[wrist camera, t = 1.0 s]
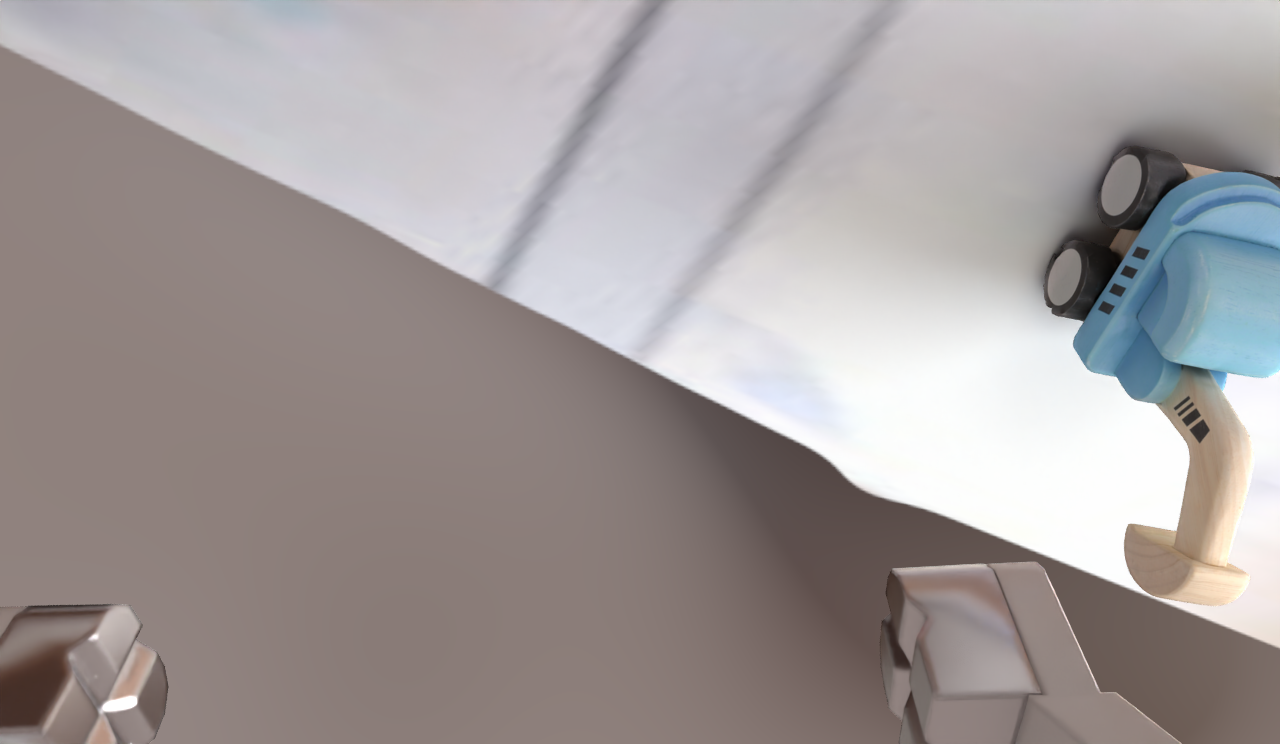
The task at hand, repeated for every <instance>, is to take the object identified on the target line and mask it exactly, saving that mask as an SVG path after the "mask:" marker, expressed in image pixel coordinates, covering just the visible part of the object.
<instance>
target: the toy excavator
mask: <svg viewBox="0 0 1280 744" xmlns="http://www.w3.org/2000/svg"><path fill="white" fill-rule="evenodd" d="M1097 208H1098V214H1099V216H1100V218H1101V220H1102V222H1103V223H1105V224H1106V225H1107V226H1108V227H1110V228H1115V229H1120V231H1119V232H1118V234H1117V235H1116V237H1115V238H1114V240H1113V242H1112V243H1111V245H1110V247H1107V246H1102V245H1098V244H1095V243H1089V242H1085V241H1080V240H1073V241H1070V242H1068V243H1066V244H1064V245H1063V246H1062V248H1064V251H1063V252H1062V253H1061V254H1060V256H1059V257H1057V259H1056V254H1054V256H1053V257H1052V259H1051V261H1050V264H1049V266H1048V270H1047V272H1046V274H1045V283H1044V285H1043V287H1044V297H1045V301H1046V305H1047V306H1048V307H1050V308H1052V313H1053V314H1054V315H1056V316H1061V317H1066V318H1071V319H1076V320H1080V321H1084V323H1083V324H1082V326H1081V327H1080V328H1079V330H1078V332H1077V334H1076V336H1075V338H1074V342H1073V347H1074V349H1075V350H1076V352H1077V354H1078V355H1079V357H1080V359H1081V360H1082V362H1083V363H1084V365H1085V366H1086V368H1087V369H1088V370H1089V371H1091V372H1094V373H1098V374H1103V375H1109V376H1114V377H1117V378H1118V380H1119V382H1120V383H1121V385H1122V386H1123V388H1124V389H1125V391H1126V392H1127V394H1128V395H1129V396H1130V397H1131V398H1133V399H1134V400H1137V401H1142V402H1148V403H1155V404H1156V405H1157V406H1158V407H1159V408H1160V409H1161V410H1162V412H1163V413H1164V414H1165V415H1166V416H1167V417H1168V419H1169V420H1170V421H1171V423H1172V424H1173V425H1174V426H1175V428H1176V429H1177V430H1178V432H1179V433H1180V434H1181V436H1182V437H1183V438H1184V440H1185V441H1186V443H1187V445H1188V448H1189V454H1190V463H1189V470H1188V475H1187V480H1186V486H1185V491H1184V497H1183V503H1182V508H1181V513H1180V518H1179V523H1178V528H1177V531H1171V530H1165V529H1160V528H1154V527H1149V526H1143V525H1138V524H1128V526H1127V529H1126V533H1125V540H1124V553H1125V559H1126V563H1127V567H1128V569H1129V572H1130V574H1131V576H1132V577H1133V579H1134V580H1135V582H1136V583H1137V584H1138V585H1139V586H1140V587H1141V588H1142V589H1143V590H1144V591H1146V592H1147V593H1149V594H1151V595H1152V596H1155V597H1159V598H1164V599H1169V600H1175V601H1181V602H1187V603H1194V604H1200V605H1208V606H1221V605H1225V604H1228V603H1230V602H1232V601H1234V600H1235V599H1237V598H1238V597H1239V596H1240V595H1241V594H1242V593H1243V592H1244V591H1245V589H1246V587H1247V585H1248V583H1249V581H1250V576H1249V574H1247V573H1246V572H1244V571H1242V570H1240V569H1239V568H1237V567H1235V566H1233V565H1231V564H1229V563H1227V561H1228V557H1229V554H1230V550H1231V547H1232V544H1233V540H1234V537H1235V534H1236V530H1237V527H1238V523H1239V520H1240V517H1241V513H1242V510H1243V506H1244V503H1245V499H1246V496H1247V492H1248V488H1249V485H1250V481H1251V475H1252V469H1253V449H1252V443H1251V440H1250V436H1249V435H1248V433H1247V431H1246V429H1245V427H1244V426H1243V424H1242V422H1241V421H1240V419H1239V418H1238V416H1237V414H1236V413H1235V411H1234V409H1233V408H1232V406H1231V405H1230V403H1229V401H1228V400H1227V398H1226V396H1225V395H1224V393H1223V392H1222V391H1223V389H1224V387H1225V383H1226V377H1227V373H1232V374H1237V375H1243V376H1249V377H1257V378H1266V377H1270V376H1272V375H1274V374H1276V373H1277V372H1278V371H1280V177H1274V176H1270V175H1266V174H1262V173H1257V172H1254V171H1248V170H1245V171H1242V172H1223V171H1218V170H1214V169H1209V168H1205V167H1200V166H1196V165H1191V164H1186V163H1181V161H1180V160H1179V159H1178V158H1177V157H1175V156H1174V155H1173V154H1171V153H1168V152H1164V151H1160V150H1154V149H1148V148H1144V147H1139V146H1130V147H1128V148H1124V149H1123V150H1122V151H1120V153H1118V154H1117V155H1116V156H1115V157H1113V164H1112V165H1111V167H1110V169H1109V171H1108V173H1107V175H1106V177H1105V180H1104V183H1103V186H1102V188H1101V190H1099V194H1098V202H1097ZM1055 260H1056V261H1055Z"/></svg>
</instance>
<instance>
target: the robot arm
mask: <svg viewBox="0 0 1280 744" xmlns="http://www.w3.org/2000/svg"><path fill="white" fill-rule="evenodd" d="M886 596H887V600H888V604H889V608H890V611H891V613H890V614H889V615H888V616H887V617H886V618H885V619H884V620H883V621H882V626H881V636H880V659H881V671H882V677H883V684H884V689H885V694H886V698H887V702H888V706H889V709H890V710H891V711H892V712H893V713H894V714H895V715H896V716H897V717H898V718H899V719H900V720H902V725H901V731H900V738H899V744H1181V743H1180V742H1179V741H1178V740H1176V739H1175V738H1174V737H1172V736H1171V735H1170V734H1169V733H1167V732H1166V731H1165V730H1163V729H1162V728H1161V727H1160V726H1158V725H1157V724H1156V723H1154V722H1153V721H1152V720H1151V719H1149V718H1148V717H1147V716H1145V715H1144V714H1143V713H1142V712H1140V711H1139V710H1138V709H1136V708H1135V707H1134V706H1133V705H1131V704H1130V703H1129V702H1127V701H1126V700H1125V699H1124V698H1122V697H1121V696H1120V695H1118V694H1117V693H1116V692H1114V693H1113V692H1100V690H1099V688H1098V686H1097V683H1096V681H1095V679H1094V677H1093V675H1092V672H1091V670H1090V668H1089V666H1088V664H1087V661H1086V659H1085V657H1084V655H1083V653H1082V651H1081V648H1080V646H1079V644H1078V642H1077V640H1076V637H1075V635H1074V633H1073V631H1072V629H1071V626H1070V624H1069V622H1068V620H1067V618H1066V615H1065V613H1064V611H1063V609H1062V607H1061V605H1060V602H1059V600H1058V598H1057V596H1056V594H1055V591H1054V589H1053V587H1052V585H1051V583H1050V580H1049V578H1048V576H1047V574H1046V572H1045V569H1044V568H1043V567H1042V566H1040V565H1039V564H1038V563H1037V562H1019V563H999V564H988V565H985V564H969V565H950V566H932V567H914V568H896V569H892V570H891V572H890V574H889V576H888V581H887V588H886ZM141 628H142V623H141V621H140V620H139V618H138V617H137V615H136V613H135V612H134V610H133V609H132V607H131V606H130V605H120V604H103V605H53V606H52V605H50V606H49V605H48V606H25V607H24V606H20V607H0V744H149V743H150V742H151V741H152V740H153V739H155V737H156V734H157V732H158V729H159V727H160V724H161V722H162V719H163V717H164V715H165V709H166V701H167V693H168V682H167V676H166V671H165V666H164V665H163V662H162V661H161V658H160V656H159V655H158V653H157V652H156V651H155V650H153V649H151V648H150V647H148V646H147V645H145V644H143V643H142V642H140V641H138V640H137V639H136V638H137V636H138V634H139V632H140V630H141Z"/></svg>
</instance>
